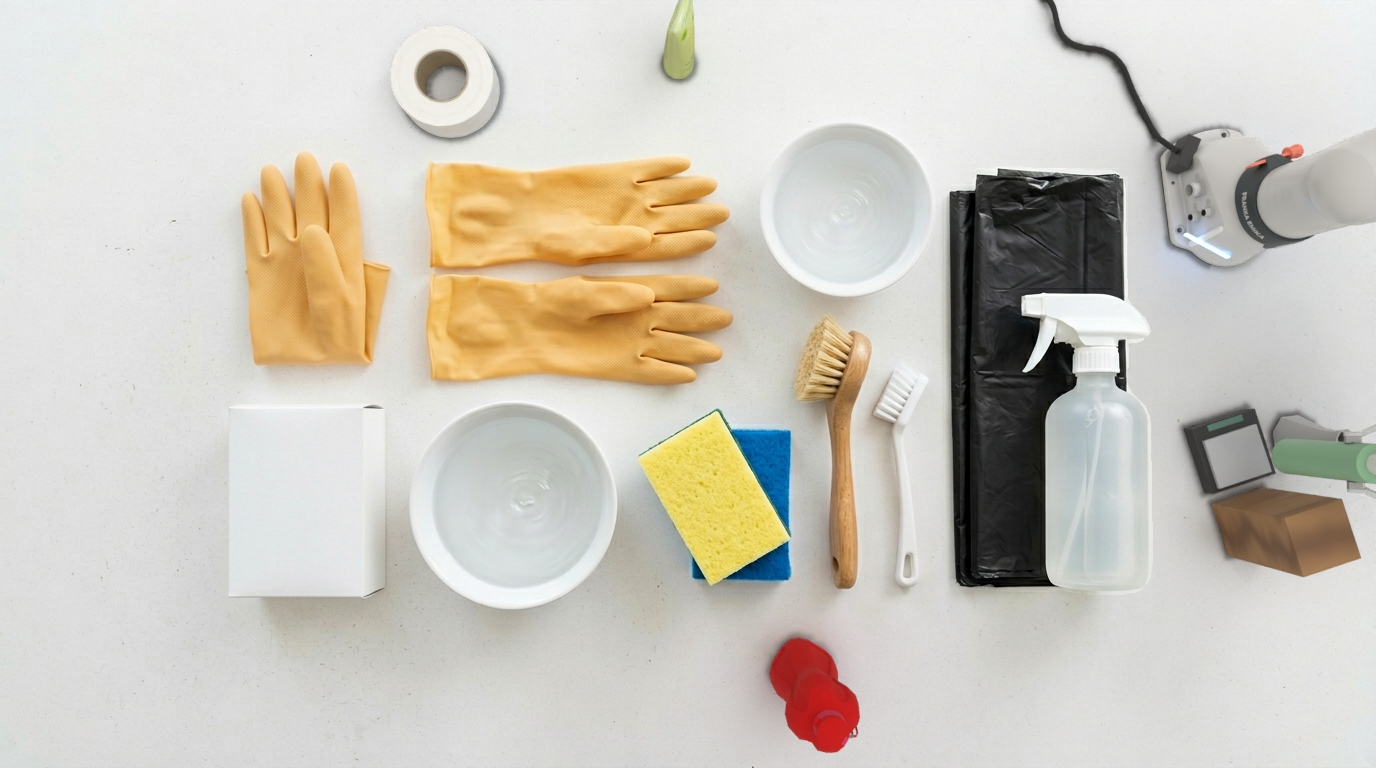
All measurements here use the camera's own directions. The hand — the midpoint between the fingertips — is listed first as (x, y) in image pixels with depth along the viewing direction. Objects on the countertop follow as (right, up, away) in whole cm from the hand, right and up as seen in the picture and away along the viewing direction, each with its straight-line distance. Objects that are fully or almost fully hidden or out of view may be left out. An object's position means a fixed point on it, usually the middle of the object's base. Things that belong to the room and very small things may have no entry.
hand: (1345, 462), depth 103 cm
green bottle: (0, 0, +10) cm, 10 cm away
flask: (+11, +2, +24) cm, 26 cm away
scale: (0, 0, +23) cm, 23 cm away
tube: (-90, +62, +22) cm, 111 cm away
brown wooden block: (+3, -12, +23) cm, 26 cm away
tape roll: (-126, +58, +21) cm, 140 cm away
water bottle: (-69, -35, +21) cm, 80 cm away
